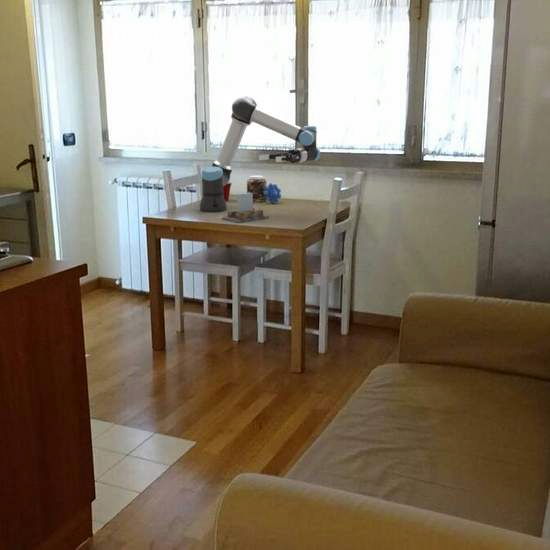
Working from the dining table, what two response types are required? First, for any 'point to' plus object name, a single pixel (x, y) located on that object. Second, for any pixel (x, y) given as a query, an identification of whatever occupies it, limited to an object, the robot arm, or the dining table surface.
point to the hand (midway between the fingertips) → (267, 158)
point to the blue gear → (272, 193)
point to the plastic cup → (226, 190)
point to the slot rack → (245, 215)
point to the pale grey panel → (245, 202)
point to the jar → (257, 188)
